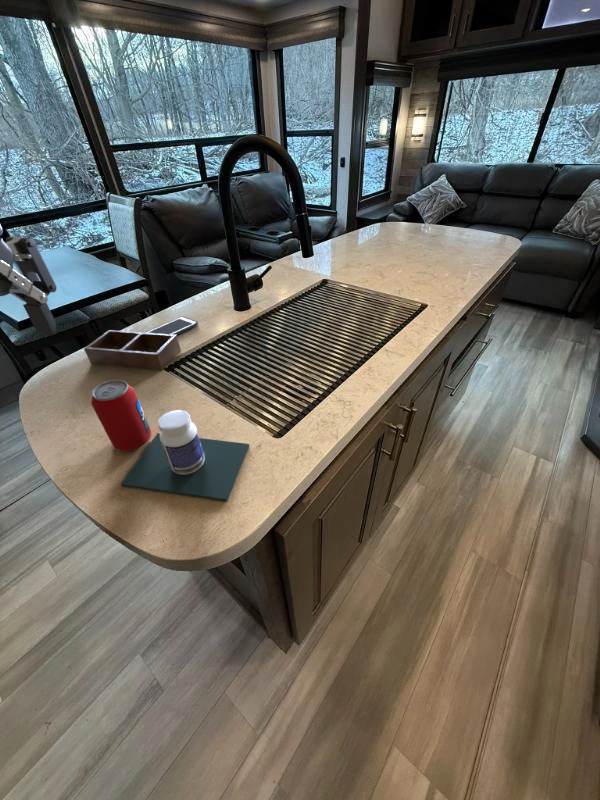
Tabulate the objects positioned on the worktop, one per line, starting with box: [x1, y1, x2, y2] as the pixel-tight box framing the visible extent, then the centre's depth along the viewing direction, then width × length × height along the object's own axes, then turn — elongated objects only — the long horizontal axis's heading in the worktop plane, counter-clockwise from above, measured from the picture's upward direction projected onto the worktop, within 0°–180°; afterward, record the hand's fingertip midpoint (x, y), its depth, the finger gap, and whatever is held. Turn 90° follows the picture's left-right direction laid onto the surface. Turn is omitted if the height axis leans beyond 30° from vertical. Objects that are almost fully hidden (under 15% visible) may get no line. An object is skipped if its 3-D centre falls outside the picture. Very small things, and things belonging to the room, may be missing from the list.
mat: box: [120, 432, 250, 503], centre depth 57 cm, size 18×12×1 cm, turn 80°
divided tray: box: [83, 329, 182, 371], centre depth 84 cm, size 19×10×4 cm, turn 80°
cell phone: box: [144, 315, 199, 336], centre depth 97 cm, size 8×15×1 cm, turn 144°
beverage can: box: [91, 379, 152, 452], centre depth 58 cm, size 7×7×12 cm
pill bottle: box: [157, 409, 205, 475], centre depth 54 cm, size 6×6×10 cm
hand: (19, 351), depth 37 cm, fingers open, 8 cm apart
